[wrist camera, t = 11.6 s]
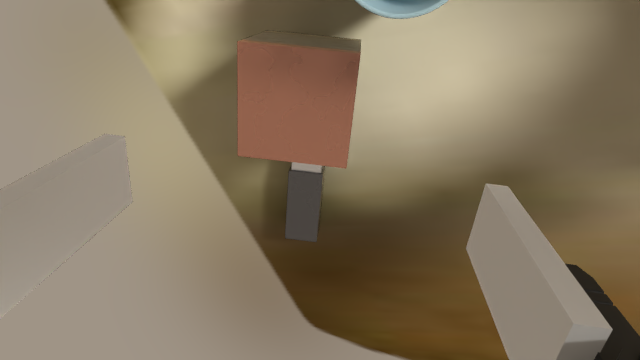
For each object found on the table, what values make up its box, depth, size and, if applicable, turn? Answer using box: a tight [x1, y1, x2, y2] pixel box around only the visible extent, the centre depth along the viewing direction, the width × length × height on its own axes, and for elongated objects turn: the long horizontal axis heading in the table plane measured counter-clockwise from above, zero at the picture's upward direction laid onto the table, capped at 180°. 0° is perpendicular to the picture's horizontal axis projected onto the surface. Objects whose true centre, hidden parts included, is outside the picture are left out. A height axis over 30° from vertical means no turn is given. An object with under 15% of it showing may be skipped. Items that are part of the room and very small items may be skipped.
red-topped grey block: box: [237, 30, 361, 168], centre depth 28 cm, size 7×7×8 cm
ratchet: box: [285, 162, 325, 242], centre depth 33 cm, size 18×6×8 cm, turn 175°
